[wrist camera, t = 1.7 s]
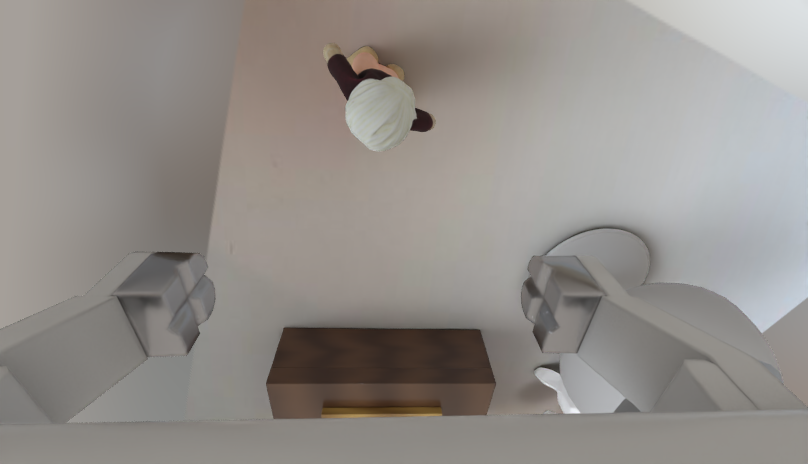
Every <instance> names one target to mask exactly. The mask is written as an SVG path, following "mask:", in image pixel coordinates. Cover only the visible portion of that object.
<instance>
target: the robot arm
mask: <svg viewBox="0 0 808 464" xmlns="http://www.w3.org/2000/svg"><path fill="white" fill-rule="evenodd" d="M207 269H208V265H207V262H206V260H205V257H204V256H203V255H201V254H200V253H180V252H176V253H175V252H133V253H129V254H128V255H127V256H126V257H124V258H123V259H122V260H121V261H120V262H119V263H118V264H117V265H116V266H115V267H114V268H113V269H112V270H110V271H109V272H108V273H107V274H106V275H105V276H104V277H103V278H102V279H101V280H100V281H99V282H98V283H96V284H95V285H94V286H93V287H92V288H91V289H90V290H89V291H88V292H87V293H86V294H85V295H83V296H75V297H72V298H70V299H68V300H65V301H63V302H61V303H58V304H56V305H54V306H52V307H49V308H47V309H45V310H43V311H41V312H38V313H36V314H33V315H31V316H29V317H27V318H24V319H22V320H20V321H18V322H16V323H13V324H11V325H9V326H6V327H4V328H2V329H0V464H808V407H807V406H806V405H805V404H804V403H803V402H802V401H801V400H800V399H799V398H798V397H797V396H796V395H795V394H793V393H792V392H791V391H790V390H789V389H788V388H787V387H786V386H785V385H784V384H783V383H782V382H781V381H780V380H779V379H777V378H776V377H775V376H774V375H773V374H772V373H771V372H770V371H769V370H768V369H767V368H766V367H765V366H764V365H763V364H761V363H760V362H759V361H758V360H757V359H756V358H755V357H753V356H751V355H749V354H747V353H745V352H743V351H741V350H740V349H738V348H736V347H734V346H732V345H730V344H728V343H726V342H724V341H722V340H720V339H718V338H716V337H714V336H712V335H711V334H709V333H707V332H705V331H703V330H701V329H699V328H697V327H695V326H693V325H691V324H689V323H687V322H685V321H683V320H682V319H680V318H678V317H676V316H674V315H672V314H670V313H668V312H666V311H664V310H662V309H660V308H658V307H656V306H654V305H653V304H651V303H649V302H647V301H645V300H643V299H641V298H639V297H637V296H630V295H629V294H628V293H627V292H626V291H625V289H624V288H623V287H622V286H621V285H620V284H619V283H618V281H617V280H616V279H615V278H614V277H613V276H612V274H611V273H610V272H609V271H608V270H607V269H606V268H605V266H604V265H603V264H602V263H601V262H600V261H599V259H598V258H597V257H595V256H593V255H572V256H533V257H532V258H531V260H530V262H529V265H528V271H529V273H530V275H531V277H529V278H528V279H527V280H526V281H525V282H524V283H523V287H522V292H521V304H522V308H523V311H524V314H525V316H526V318H527V319H528V320H529V321H531V322H532V323H534V324H535V325H534V329H533V334H534V336H535V338H536V340H537V342H538V344H539V346H540V349H541V351H542V353H577V356H578V357H579V358H581V359H582V360H583V361H584V362H585V363H586V364H587V365H589V366H590V367H591V368H592V369H593V370H594V371H595V372H597V373H598V374H599V375H600V376H601V377H602V378H604V379H605V380H606V381H607V382H608V383H609V384H610V385H612V386H613V387H614V388H615V389H616V390H617V391H618V392H620V393H621V394H622V395H623V396H624V397H625V398H626V399H628V400H629V401H630V402H631V403H632V404H633V405H634V406H636V407H637V408H638V409H639V410H640V411H641V412H627V413H572V414H518V415H466V416H412V417H358V418H304V419H250V420H196V421H145V422H144V421H143V422H90V423H66V422H67V421H69V420H70V419H71V418H73V417H74V416H75V415H76V414H78V413H79V412H80V411H82V410H83V409H84V408H85V407H87V406H88V405H89V404H91V403H92V402H93V401H95V400H96V399H97V398H98V397H99V396H101V395H102V394H104V393H105V392H106V391H107V390H109V389H110V388H111V387H113V386H114V385H115V384H116V383H118V382H119V381H120V380H122V379H123V378H124V377H125V376H127V375H128V374H129V373H131V372H132V371H133V370H134V369H136V368H137V367H138V366H140V365H141V364H142V363H143V362H145V361H146V360H147V359H148V358H147V357H168V356H187V355H188V353H189V351H190V350H191V348H192V346H193V345H194V343H195V341H196V339H197V338H198V336H199V334H200V332H199V329H198V326H199V325H200V324H202V323H203V322H205V321H206V320H208V319H209V317H210V315H211V313H212V311H213V308H214V304H215V299H216V298H215V288H214V284H213V282H212V281H211V280H210V279H209V278H208V277H206V276H205V275H204V274H205V272H206V270H207Z"/></svg>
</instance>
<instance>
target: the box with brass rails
mask: <svg viewBox="0 0 808 464" xmlns="http://www.w3.org/2000/svg"><path fill="white" fill-rule="evenodd" d="M266 386H267V391H268V395H269V400H270V404H271V409H272V413H273V418H274V419H304V418H358V417H412V416H466V415H487V412H488V408H489V405H490V402H491V399H492V395H493V392H494V389H495V386H496V382H495V378H494V375H493V372H492V369H491V365H490V362H489V358H488V355H487V352H486V348H485V345H484V342H483V338H482V335H481V331H480V330H443V329H337V328H284V329H283V332H282V336H281V339H280V342H279V345H278V348H277V351H276V354H275V357H274V361H273V364H272V367H271V370H270V373H269V376H268V379H267V382H266Z"/></svg>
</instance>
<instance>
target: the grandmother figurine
mask: <svg viewBox="0 0 808 464" xmlns="http://www.w3.org/2000/svg"><path fill="white" fill-rule="evenodd" d="M323 54H324V57H325V59H326V61H327V65H328V69H329V71H330V73H331V75H332V76H333V77H334V79H335V80H336V81H337V83H338V84H339V86H340V89H341V91H342V92H343V94H344V96H345V97H346V99H347V101H348V102H347V104H346V107H345V110H346V122H347V125H348V126H349V128H350V130H351V132H352V134H353V135H354V136H355V137H356V138H357V139H358V140H360V141H361V142H362V143H363V144H364V145H365V146H366V147H367V148H369V149H370V150H374V151H385V150H388V149H391V148H393V147H396V146H397V145H399V144H400V143H401V142H402V141H404V139H405V138H406V136H407V135H408V133H409V131H410V130H412V131H419V132H426V131H428V130H431V129H433V128H434V126H435V124H436V120H435V118H434V116H433V115H432V114H429V113H427V112H425V111H422V110H420V109H417V108H415V97H414V94H413V91H412V89H411V88H410V87H409V86H408V85H406V84H405V83H404V82H403V81H404V71H403V70H402V69H401V68H400V67H399V66H397V65H395V64H389V65H387V66H386V67H385V66H383V65H381V64H379V63H378V61H379V59H378V55H377V54H376V52H375V51H374V50H373V49H372V48H370V47H368V46H364V47H362V48H360V49H359V50H358V51H356V52H355V53H354V54H352V55H351V56H350V57H348V58H347V59H346V57H345V56H344V55H343V54H342V52H341V49H340V48H339V46H338V45H336V44H334V43H329V44H327V45H326V46H325V48H324V51H323Z"/></svg>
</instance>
